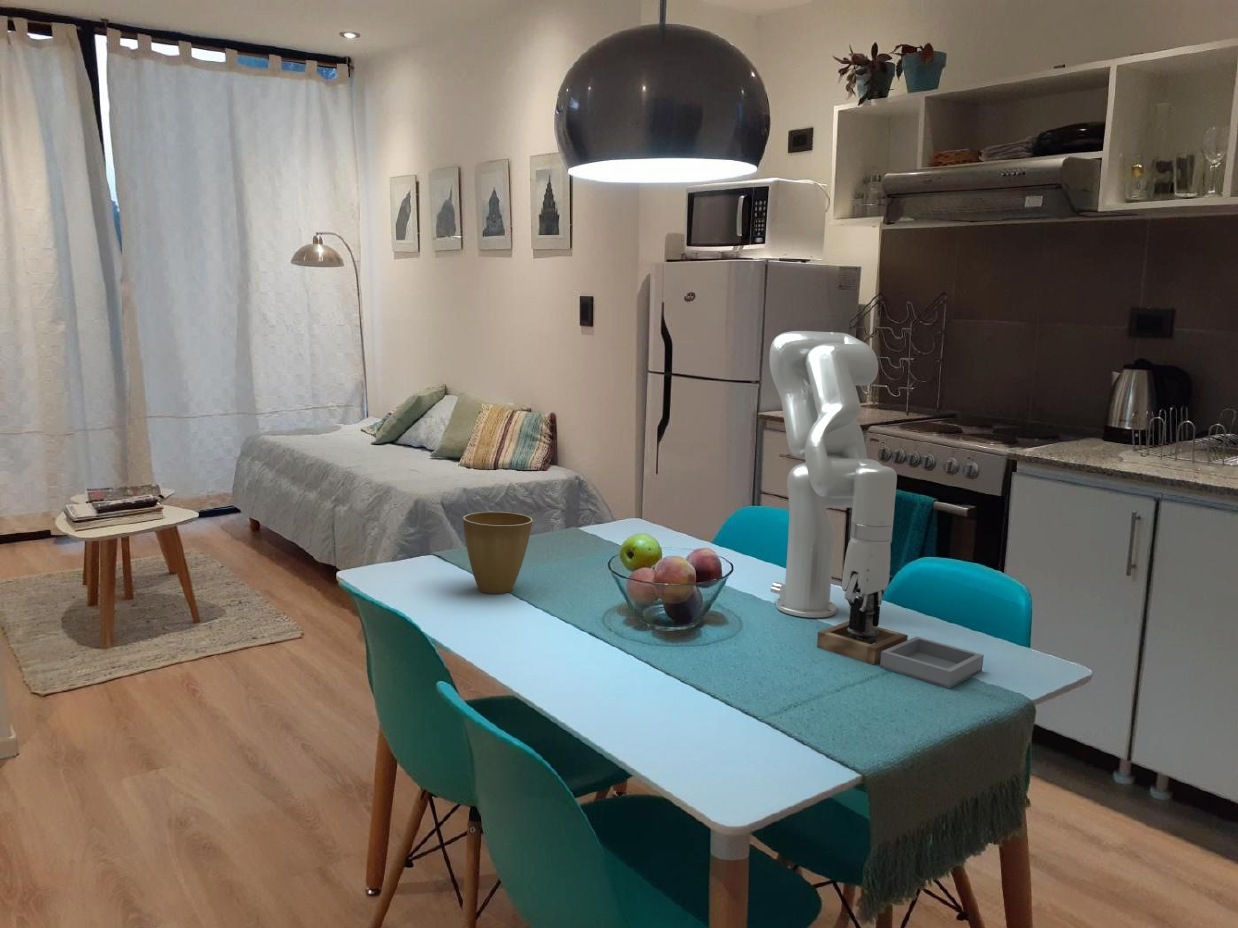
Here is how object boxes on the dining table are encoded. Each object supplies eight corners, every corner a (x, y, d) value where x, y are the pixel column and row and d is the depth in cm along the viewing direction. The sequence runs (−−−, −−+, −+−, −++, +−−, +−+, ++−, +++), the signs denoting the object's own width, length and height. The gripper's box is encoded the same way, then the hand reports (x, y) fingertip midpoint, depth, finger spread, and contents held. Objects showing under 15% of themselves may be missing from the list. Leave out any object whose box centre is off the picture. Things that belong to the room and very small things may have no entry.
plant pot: (503, 603, 203) (505, 528, 201) (447, 590, 211) (448, 518, 208) (543, 587, 216) (545, 517, 214) (489, 576, 224) (491, 508, 221)
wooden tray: (816, 647, 184) (818, 631, 183) (850, 634, 192) (851, 619, 192) (873, 664, 176) (875, 648, 175) (906, 650, 184) (907, 634, 184)
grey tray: (879, 667, 174) (881, 651, 174) (915, 651, 184) (916, 636, 183) (948, 688, 165) (950, 671, 165) (982, 670, 175) (983, 654, 174)
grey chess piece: (879, 655, 181) (884, 592, 179) (846, 652, 182) (851, 589, 180) (876, 645, 186) (881, 584, 185) (845, 642, 187) (850, 581, 186)
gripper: (875, 523, 189) (867, 614, 192) (829, 534, 177) (822, 631, 180) (911, 529, 184) (903, 623, 187) (866, 542, 172) (858, 642, 175)
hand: (863, 626), depth 183 cm, fingers closed on grey chess piece, 4 cm apart
